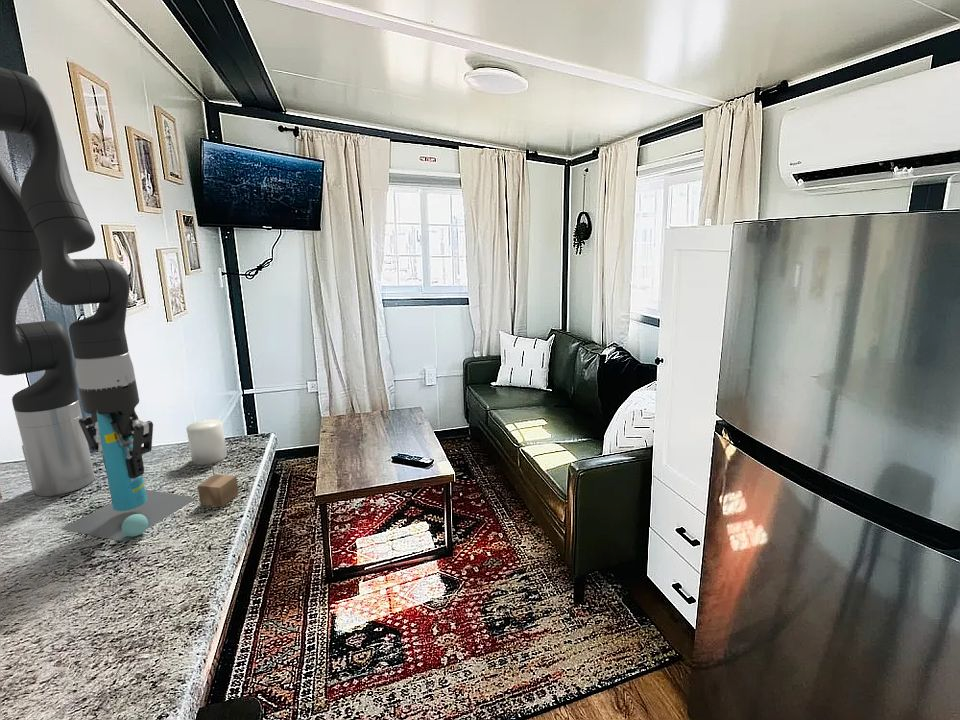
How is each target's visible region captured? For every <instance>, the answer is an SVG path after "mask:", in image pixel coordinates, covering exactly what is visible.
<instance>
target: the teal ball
mask: <svg viewBox="0 0 960 720" xmlns="http://www.w3.org/2000/svg"><path fill="white" fill-rule="evenodd" d="M147 527H148V520H147V518H146V517H145V516H144V515H141V514H134V515H131V516H129V517H127V518H126V519H125V520H124V522H123V524H122V531H123V533H124V534H125V535H127V536H131V537H133V538H135V537H137V536H140V535H142V534H143V533H145V532H146V530H148V529H147Z"/></svg>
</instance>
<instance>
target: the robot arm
mask: <svg viewBox="0 0 960 720" xmlns="http://www.w3.org/2000/svg"><path fill="white" fill-rule="evenodd" d="M46 93H47V92H46V91H45V89H44V88H43V86H42V85H41V83H40V82H39V81H38V80H36V79H35V78H34V77H32V76H31V75H28V74H26V73H22V72H19V71H16V70H11V69H7V68H4V67H0V131H1V132H6V133H13V134H14V133H15V134H18V135H19V134H20V135H26V136H27V137H28V138H29V140H30V141H31V144H32V148H33V156H32V160H31V162H30V165H29V167H28V170H27V171H26V174H25V176H24V177H23V180H22V183H21V186H20V185H19V184H18V182H17V181H16V179H15V178H13V176H12V175H11V174H10V173H9V171H8V170H7V169H6V167H5V166H4V164H3V163H2V160H0V376H5V377H6V376H8V377H9V376H18V375H24V374H30V373H37V372H42V371H44V374H43V375H42V376H41V377H40V378H39V379H38V380H37V381H36V382H33V383H32V384H31V385H28V386H27V387H25V388H23V389H21V390H18V391H17V392H16V393H15V394H13V395H12V398H11V401H12V406H13V410H14V414H15V419H16V422H17V425H18V429H19V434H20V438H21V442H22V445H21V449H22V452H23V456H24V457H23V458H24V462H25V465H26V469H27V473H28V474H27V475H28V477H29V481H30V484H31V485H30V486H31V490H33V491H34V494H35V495H36V496H39V497H51V496H52V497H54V496H59V495H63V494H68V493H71V492H74V491H77V490H79V489H82V488H84V487H86V486H88V485H89V484H92V482H93V481H94V480H95V479H96V478H95V473H94V472H95V470H94V467H93V466H94V465H93V461H92V458H91V456H92V455H91V452H90V450H91V451H92V452H95V451H97V452H98V454H99V455H100V456H101V457H102V459H103V464H104V469H105V470H106V467H105V462H104V456H103V450H102V445H101V439H100V433H99V427H98V421H97V413H98V414H109V415H110V416H111V418H112V420H113V422H112V423H111V427H112V430H113V432H114V433H115V435H116V440H117V444H118V447H120V448H122V450H123V452H124V455H125V457H126V458H127V459H125V460H126V465H127V470H128V475H129V478H133V479H134V478H137V477H139V476H141V475H142V476H143V475H144V473H145V467H144V461H143V455H144V454H147V453H150V452H151V451H152V447H153V445H152V444H153V432H154V423H153V421H152V420H148V421H142V420H140V418H139V417H138V414H137V412H136V410H135V409H136V407H137V406H138V405H139V404H140V397H139V390H138V385H137V380H136V375H135V369H134V368H135V367H134V364H133V361H132V358H131V355H130V352H129V347H128V346H129V345H128V342H127V335H126V330H125V328H126V317H127V316H126V315H127V308H128V302H129V295H130V290H131V289H130V288H131V284H130V282H131V281H130V277H129V275H128V273H127V271H126V269H125V268H124V267H123V266H122V264H120V263H119V262H118V261H116V260H114V259H110V258H84V259H83V258H71V257H70V255H69V254H74V253H78V252H79V253H80V252H82V251H85V250H87V249H88V250H89V248H90V247H92V246H93V245H94V244H95V242H96V235H95V232H94V229H93V227H92V226H91V225H92V224H91V223H90V220H89V218H88V216H87V215H86V212H85V209H84V208H83V205H82V204H81V202H80V199H79V198H78V197H79V196H78V195H77V192H76V190H75V187H74V184H73V181H72V178H71V174H70V171H69V166H68V163H67V159H66V154H65V151H64V147H63V143H62V142H63V141H62V139H61V136H60V132H59V129H58V126H57V122H56V118H55V115H54V111H53V108H52V105H51V102H50V100H49V98H48V96H47V94H46ZM40 273H41V281H42V287H43V289H44V292H45V293H46V294H47V296H48V297H49V298H50V299H51V300H53V301H55V302H56V303H58V304H60V305H63V306H80V305H81V306H82V305H90V304H91V305H92V304H98V306H97V309H96V311H95V313H93V314H92V315H91V316H88V317H85V318H82V319H78V320H76V321H74V322H72V323H71V324H70V325H69V328H68V331H69V332H68V333H69V334H68V333H67V330H66V329H65V327H64V326H63V325H62V324H61V323H60V322H57V321H55V320H43V321H42V320H41V321H33V322H32V321H31V322H22V323H17V314H18V309H19V307H20V304H21V300H23V297H24V295H25V294H26V292H27V290H28V289H29V287H31V285H32V284H33V282H34V281H35V280H36V278H37V277H38V276H39V275H40ZM73 357H74V358H73ZM73 359H74V360H73ZM78 391H79V396H80V401H81V405H82V409H81V406H80V401H79V396H78ZM82 411H84V413H86V414H89V416H85V417H83V415H82ZM131 435H132V438H131V439H129V440H126V441H124V440H123V439H125V438H128V437H130V436H131ZM130 444H133V450H132V451H131V449H130V447H129V445H130ZM105 472H106V471H105ZM106 474H107V472H106Z"/></svg>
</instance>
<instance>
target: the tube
mask: <svg viewBox="0 0 960 720" xmlns="http://www.w3.org/2000/svg"><path fill="white" fill-rule="evenodd" d="M97 421H98V427H99V433H100V439H101V445H102V450H103V456H104V461H103V463H104V462H105V466H104V468H105V467H106V469H105V472H107V473H106V477H107V482H108V483H107V484H108V489H109V494H110V500H111V503H112V506H113V509H114V510H116V511H127V510H132V509H135V508H137V507H139V506H141V505H143V504H144V503H145V502H146V501H147V497H146V491H145V489H146V487H145V483H144V478H143V475H141V476H139V477H137V478H134V479H133V478H129V475H128V470H127V465H126V460H125V459H127V458H126V457H125V455H124V452H123V450H122V448H120V447H118V444H117V440H116V435H115V433H114V432H113V430H112V427H111V423H112V422H113V420H112V418H111V416H110V415H109V414H98V413H97ZM131 438H132V435H131V436H130V437H128V438H125V439H123V440H124V441H126V440H129V439H131ZM129 447H130V449H131V451H132V450H133V444H130V445H129ZM103 456H102V457H103Z"/></svg>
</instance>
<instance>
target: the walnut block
mask: <svg viewBox="0 0 960 720" xmlns="http://www.w3.org/2000/svg"><path fill="white" fill-rule="evenodd" d="M238 487H239V486H238V480H237V475H227V474H216V473H215V474H213V475H212V476H210V477H208V478H207V479H206V480H204V481H202V482H201V483H200V484H198V485H197V490H198V497H199V503H200V505H201V506H202V505H203V506H213V507H224V506H225V505H227V504H228V503H229V502H230V501H232V500H233V499H234V498H236V497H237V496H238V495H239V488H238Z"/></svg>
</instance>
